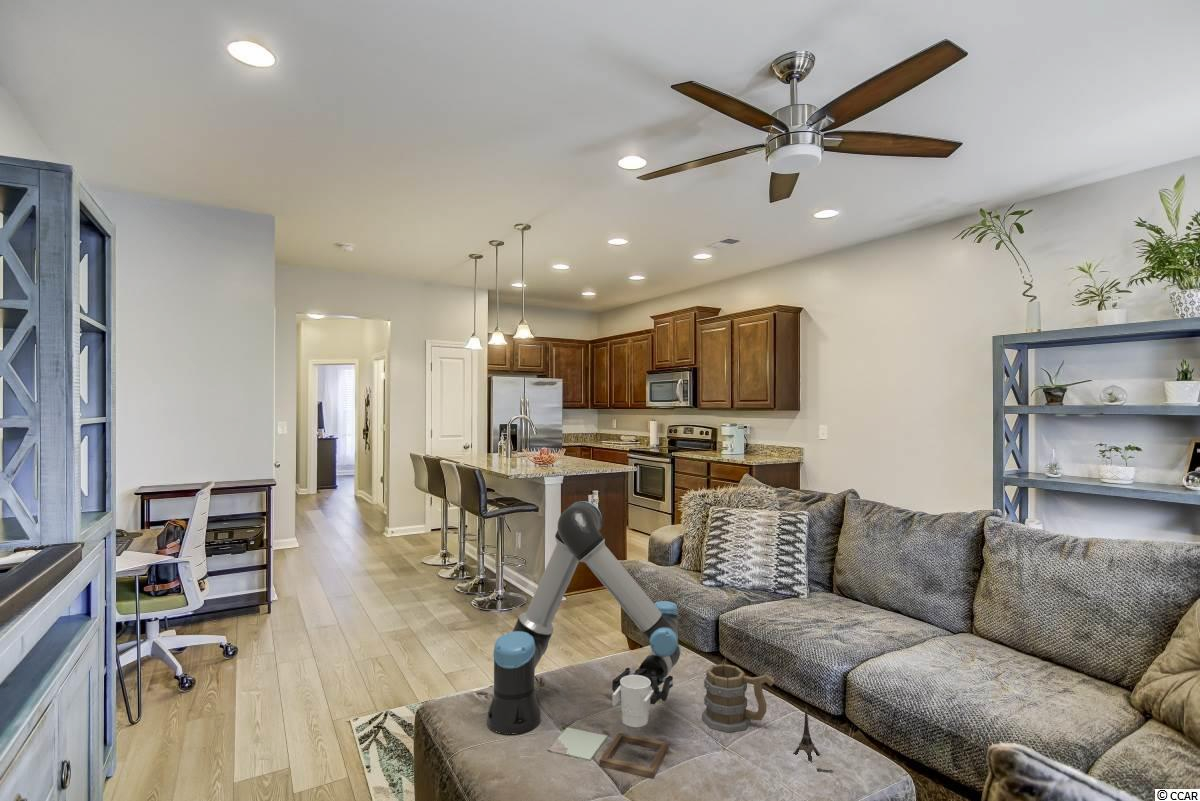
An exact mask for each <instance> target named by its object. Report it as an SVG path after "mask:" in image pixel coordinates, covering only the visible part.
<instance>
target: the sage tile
mask: <svg viewBox="0 0 1200 801" xmlns="http://www.w3.org/2000/svg"><path fill="white" fill-rule="evenodd" d="M557 739H558V740H560V741H561V744H562V743H563V744H564V746H565V748H568V749H567V750H568V751H567V750H566V751H567V753H566V754H568V753H569V755H572V756H575V757H577V758H576V759H579V758H581V759H580V760H584V761H589V762H590V761H592V759H593V758H594V756H595V754H596V753H597V752H598V751H599V749H600V748H601V746H602V745H603V744H604V742H605V741H606V740H607V739H608V735H605V734H600V733H595V732H590V731H585V730H583V729H582V730H581V729H576V728H573V727H566V728H565V729H564V730H563V731H562V733H561V734H560V735H559V736H558V738H556V740H557ZM560 741H559V742H560ZM575 757H574V758H575Z"/></svg>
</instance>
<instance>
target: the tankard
mask: <svg viewBox="0 0 1200 801" xmlns="http://www.w3.org/2000/svg"><path fill="white" fill-rule="evenodd" d="M705 672H706V674H705V676H706V677H705V678H704V679H703V681H704V682H703V687H704V688H705V689H706V693H705V695H704V697H703V703H704V705H705V706H706V707H705V709H704V710H703V711H702V713H701V719H702V721H703V722H704V723H705V724H706V725H707V726H708V727H709V728H711V729H712V730H715V731H720V732H725V733H734V732H740V731H745V730H746V728H747V727H748V726H749V724H750V721H760V722H761V721H762V720H763V718H764V717H765V715H766V713H767V701H766V699H765V696H764V692H763V684H767V685H768V686H770V687H772V686H773V684H774V683H775V679H774V678H772V677H771V676H770V675H768V674H763V675H759V676H755V677H751V676H748V675H747V676H746V674H745V672H744V670H742V669H740V668H739V667H738V666H735V665H731V664H727V663H726V664H725V663H724V664H723V663H721V664H720V663H719V664H712V665H710V666H709V667H708V668H707V669H706V671H705ZM748 684H750V685H753V692H754V697H755V699H756V702H757V706H758V710H757V711H752V710H749V709H747V707H748V698H747V697H746V691H747V690H748Z"/></svg>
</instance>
